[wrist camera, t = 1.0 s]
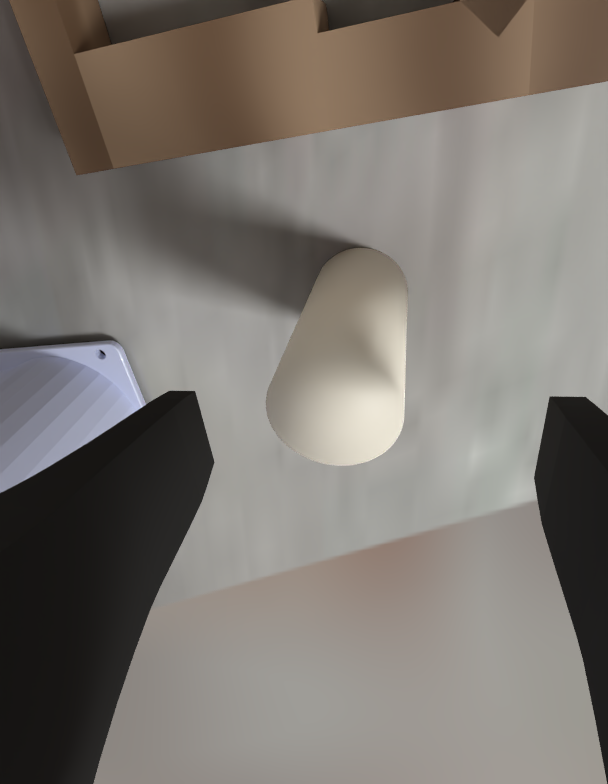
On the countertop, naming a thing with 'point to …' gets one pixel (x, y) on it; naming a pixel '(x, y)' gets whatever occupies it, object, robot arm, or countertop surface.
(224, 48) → the keyhole board
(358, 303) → the cream peg
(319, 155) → the countertop surface
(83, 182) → the countertop surface
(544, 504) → the robot arm
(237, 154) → the countertop surface
